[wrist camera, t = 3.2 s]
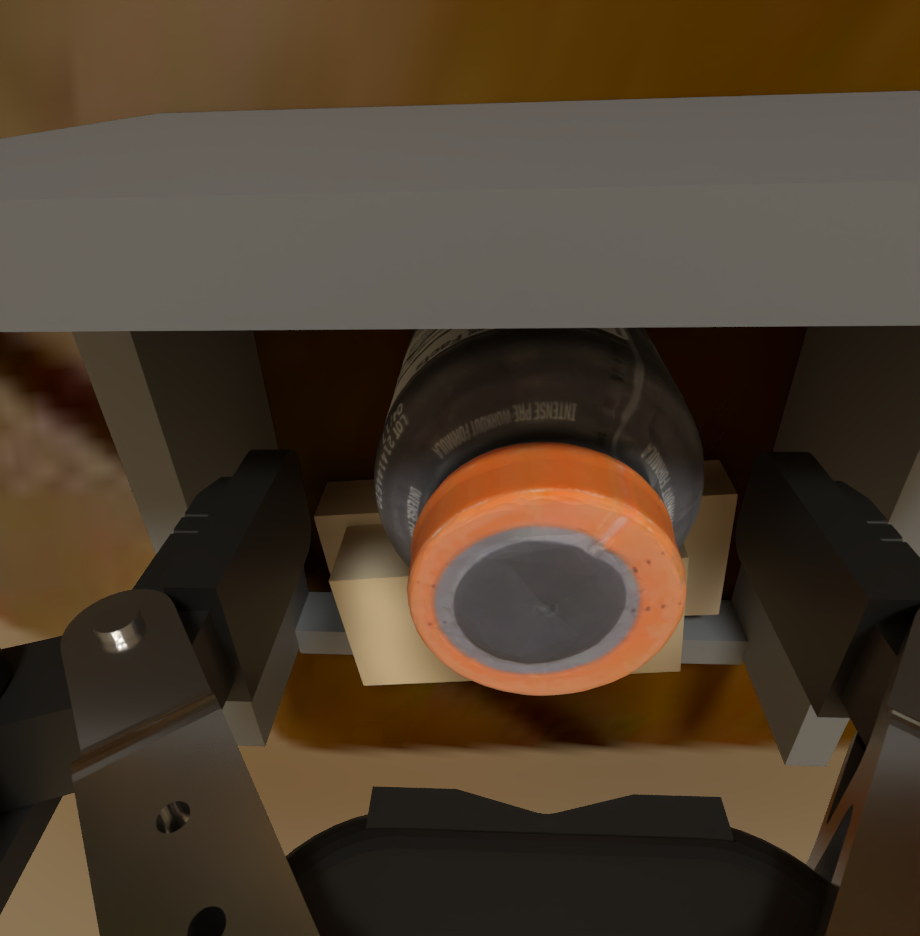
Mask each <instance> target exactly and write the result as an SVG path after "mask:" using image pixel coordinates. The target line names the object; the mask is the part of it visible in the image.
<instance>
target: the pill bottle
mask: <svg viewBox="0 0 920 936" xmlns="http://www.w3.org/2000/svg"><path fill="white" fill-rule="evenodd" d="M703 487H704V455H703V448H702V444H701V440H700V435H699V431H698V429H697V426H696V424H695V421H694V419H693V417H692V414H691V412H690V411H689V409H688V406H687V404H686V402H685V400H684V398H683V396H682V394H681V393H680V390H679V389H678V387H677V386H676V384H675V382H674V381H673V379H672V376H671V374H670V372H669V371H668V369H667V368H666V366H665V365H664V363H663V361H662V359H661V357H660V355H659V353H658V351H657V349H656V347H655V346H654V344H653V342H652V340H651V339H650V337H649V335H648V333H647V331H646V329H645V328H644V327H637V328H496V329H413V334H412V337H411V340H410V343H409V346H408V349H407V352H406V356H405V358H404V361H403V364H402V368H401V371H400V374H399V377H398V380H397V384H396V388H395V391H394V396H393V399H392V402H391V405H390V408H389V411H388V414H387V417H386V420H385V424H384V427H383V431H382V433H381V437H380V440H379V444H378V448H377V452H376V456H375V466H374V490H375V499H376V504H377V509H378V513H379V516H380V519H381V522H382V525H383V527H384V530H385V532H386V534H387V537H388V539H389V540H390V542H391V544H392V545H393V547H394V549H395V550H396V552H397V553H398V555H399V556H400V557H401V558H402V560H403V561H404V562H405V564H406V565H407V566H408V567H409V568H410V569H409V577H408V585H407V594H408V606H409V610H410V614H411V618H412V620H413V623H414V625H415V627H416V630H417V632H418V634H419V636H420V637H421V639H422V640H423V642H424V643H425V644H426V646H427V647H428V648H429V649H430V650H431V651H432V652H433V653H434V654H435V655H436V656H437V658H438V659H439V660H440V661H441V662H442V663H444V664H445V665H447V666H448V667H449V668H451V669H452V670H453V671H454V672H456V673H458V674H460V675H461V676H463V677H465V678H467V679H470V680H472V681H474V682H477V683H479V684H482V685H484V686H487V687H491V688H494V689H497V690H501V691H505V692H512V693H517V694H523V695H534V696H546V695H560V694H570V693H576V692H582V691H586V690H590V689H593V688H596V687H600V686H603V685H606V684H609V683H612V682H614V681H616V680H618V679H620V678H622V677H625V676H627V675H629V674H630V673H632V672H633V671H635V670H636V669H638V668H639V667H641V666H642V665H644V664H645V663H647V662H648V661H649V660H650V659H651V658H652V657H653V656H654V655H655V654H657V653H658V652H659V651H660V650H661V649H662V648H663V647H664V646H665V644H666V643H667V642H668V640H669V639H670V637H671V636H672V634H673V633H674V631H675V629H676V627H677V625H678V623H679V622H680V620H681V618H682V615H683V612H684V609H685V601H686V592H687V587H686V572H685V569H684V565H683V562H682V559H681V556H680V553H679V549H680V548H681V546H682V545H683V543H684V541H685V540H686V538H687V536H688V534H689V532H690V530H691V528H692V526H693V524H694V522H695V520H696V517H697V514H698V511H699V508H700V504H701V499H702V493H703Z"/></svg>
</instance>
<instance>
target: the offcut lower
mask: <svg viewBox="0 0 920 936" xmlns="http://www.w3.org/2000/svg"><path fill="white" fill-rule="evenodd" d="M737 496H738V493H737V492H736V490H735V488H734V486H733V484H732V482H731V481H730V479H729V477H728V475H727V473H726V471H725V470H724V468H723V466H722V464H721V462H720V460H707V461H704V487H703V493H702V499H701V504H700V508H699V511H698V514H697V517H696V520H695V522H694V524H693V526H692V528H691V530H690V532H689V534H688V536H687V538H686V540H685V541H684V546H685V549H686V551H687V554H688V557H689V562H688V575H687V592H686V602H685V615H684V616H688V615H718V614H719V609H720V603H721V597H722V591H723V584H724V578H725V572H726V565H727V559H728V553H729V547H730V540H731V534H732V528H733V521H734V515H735V509H736V502H737ZM314 519H315V523H316V526H317V530H318V533H319V537H320V540H321V544H322V547H323V551H324V554H325V558H326V561H327V565H328V568H329V572H330V575H331V573H332V570H333V567H334V564H335V561H336V558H337V555H338V552H339V549H340V546H341V543H342V540H343V536H344V533H345V530H346V527H354V526H367V525H380V524H382V522H381V519H380V516H379V513H378V509H377V504H376V499H375V490H374V479H370V480H353V481H335V482H328V483H327V485H326V487H325V490H324V492H323V495H322V497H321V500H320V502H319V504H318V507H317V509H316V512H315V514H314Z"/></svg>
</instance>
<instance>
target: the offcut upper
mask: <svg viewBox="0 0 920 936" xmlns="http://www.w3.org/2000/svg"><path fill="white" fill-rule="evenodd" d="M679 553H680V556H681V559H682V562H683V565H684V569H685V572H686V587H687V575H688V562H689V557H688V554H687V551H686V549H685V546H684V543H683V545H682V546H681V548H680V549H679ZM409 569H410V568H409V567H408V566H407V565H406V564H405V562H404V561H403V560H402V558H401V557H400V556H399V555H398V553H397V552H396V550H395V549H394V547H393V545H392V544H391V542H390V540H389V539H388V537H387V534H386V532H385V530H384V527H383V525H382V524H380V525H367V526H354V527H346V530H345V533H344V536H343V540H342V543H341V546H340V549H339V552H338V555H337V558H336V561H335V564H334V567H333V570H332V573H331V576H330V579H329V583H330V586H331V589H332V592H333V595H334V598H335V601H336V604H337V607H338V610H339V613H340V616H341V619H342V622H343V625H344V628H345V631H346V634H347V637H348V640H349V643H350V646H351V649H352V652H353V655H354V658H355V661H356V664H357V667H358V670H359V673H360V676H361V679H362V682H363V685H364V686H369V685H391V684H413V683H435V682H457V681H472V680H470V679H467V678H465V677H463V676H461V675H460V674H458V673H456V672H454V671H453V670H452V669H451V668H449V667H448V666H447V665H445V664H444V663H442V662H441V661H440V660H439V659H438V658H437V656H436V655H435V654H434V653H433V652H432V651H431V650H430V649H429V648H428V647H427V646H426V644H425V643H424V642H423V640H422V639H421V637H420V636H419V634H418V632H417V630H416V627H415V625H414V623H413V620H412V618H411V614H410V610H409V606H408V594H407V585H408V577H409ZM685 602H686V601H685ZM684 615H685V609H684V612H683V615H682V618H681V620H680V622H679V623H678V625H677V627H676V629H675V631H674V633H673V634H672V636H671V637H670V639H669V640H668V642H667V643H666V644H665V646H664V647H663V648H662V649H661V650H660V651H659V652H658V653H657V654H655V655H654V656H653V657H652V658H651V659H650V660H649V661H648V662H647V663H645V664H644V665H642V666H641V667H639V668H638V669H636V670H635V671H633V672H632V673H654V672H676V671H680V668H681V655H682V641H683V628H684ZM632 673H630V674H632Z"/></svg>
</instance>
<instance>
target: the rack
mask: <svg viewBox="0 0 920 936" xmlns="http://www.w3.org/2000/svg"><path fill="white" fill-rule="evenodd" d="M777 326H808V327H807V330H806V334H805V337H804V341H803V345H802V348H801V352H800V355H799V359H798V362H797V366H796V370H795V373H794V377H793V380H792V384H791V387H790V391H789V395H788V398H787V402H786V405H785V409H784V412H783V416H782V420H781V423H780V427H779V430H778V434H777V437H776V441H775V445H774V448H773V452H809V453H811V454H812V455H813V456H814V457H815V459H816V460H817V461H818V462H819V463H820V465H821V466H822V467H823V468H824V470H825V471H826V472H827V473H828V475H829V476H830V477H831V478H832V480H833V481H842V482H844V483H846V484H847V485H849V486H850V487H852V488H853V489H855V490H857V491H858V492H860V493H861V494H863V495H864V496H866V497H867V498H869V499H870V500H871V501H872V502H873V503H874V505H875V506H876V507H877V508H878V509H879V510H880V512H881V513H882V514H883V515H884V516H885V517H886V519H887V520H888V521H887V523H888V524H892V526H893V527H894V528H895V529H896V530H897V531H898V533H899V534H900V535H901V536H902V537H903V538H902V541H903V542H907V543H908V544H909V545H910V547H911V548H912V549H913V550H914V551H915V552H916V554H917V555H918V556H919V557H920V91H895V92H861V93H828V94H794V95H761V96H727V97H693V98H660V99H626V100H593V101H559V102H525V103H492V104H458V105H425V106H391V107H358V108H324V109H290V110H257V111H223V112H190V113H159V114H152V115H146V116H140V117H134V118H127V119H121V120H115V121H109V122H103V123H96V124H90V125H84V126H78V127H71V128H65V129H59V130H53V131H46V132H40V133H34V134H28V135H21V136H15V137H9V138H3V139H0V332H72V333H73V336H74V338H75V341H76V343H77V346H78V349H79V351H80V354H81V357H82V359H83V362H84V365H85V367H86V370H87V373H88V375H89V378H90V381H91V383H92V386H93V388H94V391H95V394H96V396H97V399H98V402H99V404H100V407H101V410H102V412H103V415H104V418H105V420H106V423H107V426H108V428H109V431H110V433H111V436H112V439H113V441H114V444H115V447H116V449H117V452H118V455H119V457H120V460H121V463H122V465H123V468H124V471H125V473H126V476H127V478H128V481H129V484H130V486H131V489H132V492H133V494H134V497H135V500H136V502H137V505H138V508H139V510H140V513H141V516H142V518H143V521H144V523H145V526H146V529H147V531H148V534H149V537H150V539H151V542H152V545H153V547H154V550H155V553H156V554H157V553H158V551H159V550H160V548H161V547H162V545H163V544H164V542H165V541H166V540H167V538H168V537H169V535H170V534H173V533H174V528H175V526H176V525H177V524H178V522H179V521H180V519H181V518H182V517H185V512H186V510H187V509H188V507H189V506H190V505H191V503H192V502H193V500H194V499H195V497H196V496H197V494H198V493H200V492H201V491H202V490H204V489H205V488H206V487H208V486H209V485H211V484H212V483H213V482H215V481H216V480H217V479H219V478H220V477H233V475H234V474H235V472H236V470H237V469H238V467H239V466H240V464H241V463H242V461H243V459H244V458H245V456H246V455H247V453H248V452H249V451H250V450H252V449H278V445H277V440H276V435H275V431H274V426H273V422H272V417H271V412H270V408H269V403H268V398H267V394H266V389H265V384H264V380H263V375H262V370H261V366H260V361H259V357H258V352H257V347H256V343H255V338H254V333H253V330H356V329H496V328H637V327H777ZM299 649H300V653H306V654H344V655H353V652H352V649H351V646H350V643H349V640H348V637H347V634H346V631H345V628H344V625H343V622H342V619H341V616H340V613H339V610H338V607H337V604H336V601H335V598H334V595H333V592H309V589H308V584H307V579H306V575H305V570H304V566H303V568H302V571H301V574H300V576H299V579H298V582H297V584H296V587H295V589H294V592H293V595H292V597H291V600H290V603H289V605H288V608H287V611H286V613H285V616H284V619H283V621H282V624H281V626H280V629H279V632H278V634H277V637H276V640H275V642H274V645H273V648H272V650H271V653H270V655H269V658H268V661H267V663H266V666H265V669H264V671H263V674H262V677H261V679H260V682H259V685H258V687H257V690H256V692H255V695H254V698H253V700H252V702H240V701H226V702H225V705H224V707H223V709H222V711H223V714H224V716H225V718H226V721H227V723H228V725H229V728H230V730H231V732H232V734H233V737H234V739H235V741H236V744H237V745H241V746H242V745H243V746H265V745H266V742H267V739H268V736H269V733H270V731H271V728H272V725H273V722H274V719H275V716H276V713H277V710H278V708H279V705H280V702H281V699H282V696H283V693H284V690H285V687H286V684H287V682H288V679H289V676H290V673H291V670H292V667H293V664H294V661H295V658H296V656H297V653H298V650H299ZM742 660H743V661H744V663H745V666H746V668H747V671H748V673H749V676H750V679H751V681H752V684H753V686H754V689H755V691H756V694H757V696H758V699H759V701H760V704H761V706H762V709H763V711H764V714H765V716H766V719H767V721H768V724H769V726H770V729H771V731H772V734H773V736H774V739H775V741H776V744H777V746H778V749H779V751H780V754H781V756H782V759H783V761H784V764H785V765H801V766H802V765H803V766H827V764H828V761H829V760H830V758H831V756H832V754H833V751H834V749H835V747H836V745H837V743H838V741H839V739H840V737H841V735H842V733H843V731H844V729H845V727H846V725H847V723H848V721H849V719H850V718H828V717H817V716H816V714H815V712H814V710H813V707H812V705H811V703H810V701H809V699H808V697H807V695H806V693H805V691H804V689H803V687H802V685H801V683H800V681H799V679H798V677H797V675H796V673H795V671H794V669H793V667H792V665H791V663H790V661H789V659H788V657H787V655H786V653H785V651H784V649H783V647H782V644H781V642H780V640H779V638H778V636H777V634H776V632H775V630H774V628H773V626H772V624H771V622H770V620H769V618H768V616H767V614H766V612H765V610H764V608H763V606H762V604H761V602H760V600H759V598H758V596H757V594H756V592H755V590H754V588H753V586H752V584H751V582H750V579H749V577H748V575H747V573H746V571H745V569H744V567H743V565H742V563H741V566H740V570H739V573H738V577H737V580H736V584H735V587H734V591H733V595H732V598H731V600H721V603H720V609H719V614H718V615H688V616H684V628H683V641H682V655H681V663H689V664H728V665H741V663H742Z"/></svg>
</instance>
